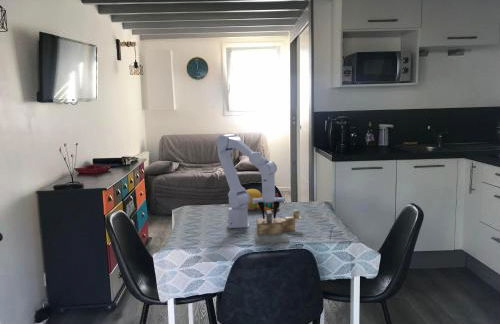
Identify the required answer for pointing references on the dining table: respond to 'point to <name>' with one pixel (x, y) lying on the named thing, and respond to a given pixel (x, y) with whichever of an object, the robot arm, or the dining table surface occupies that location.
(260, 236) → the mat
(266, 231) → the open wooden box
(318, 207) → the dining table surface
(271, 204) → the toy
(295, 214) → the beige piece
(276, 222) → the lid
